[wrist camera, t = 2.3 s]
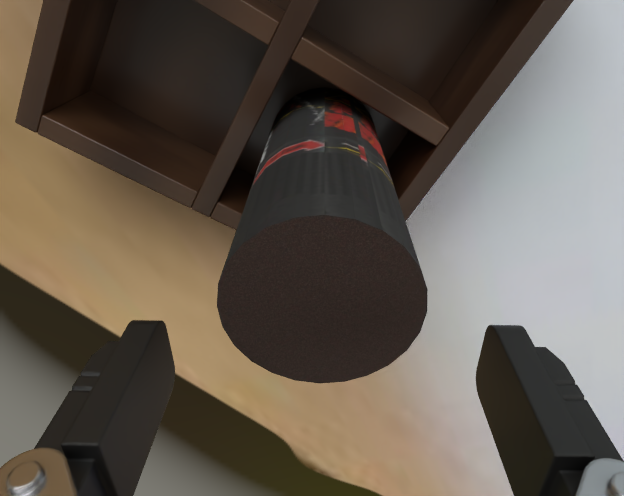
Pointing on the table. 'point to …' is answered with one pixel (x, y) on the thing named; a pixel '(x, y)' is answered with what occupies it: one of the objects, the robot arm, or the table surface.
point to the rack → (268, 82)
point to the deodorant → (322, 250)
